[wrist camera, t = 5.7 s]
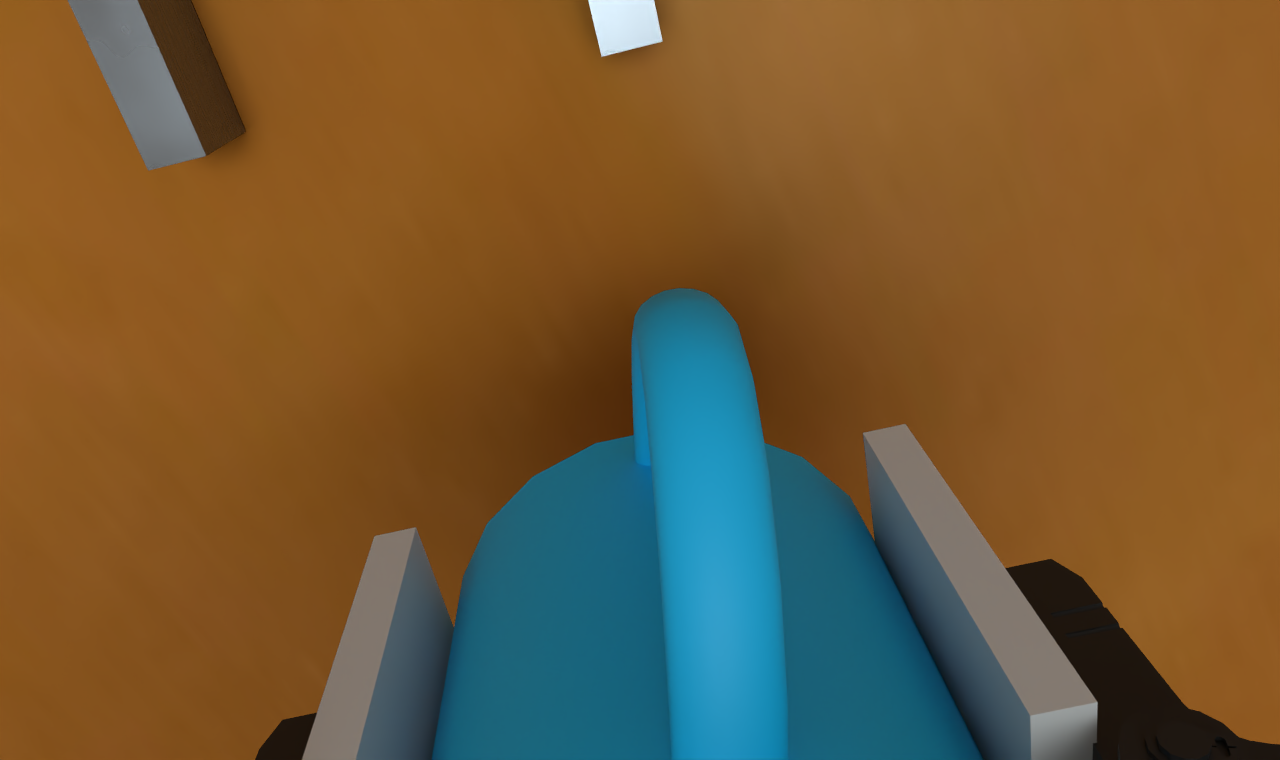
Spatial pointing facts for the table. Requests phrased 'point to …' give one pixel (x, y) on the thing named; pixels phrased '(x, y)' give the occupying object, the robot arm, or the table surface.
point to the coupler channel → (193, 84)
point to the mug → (688, 592)
